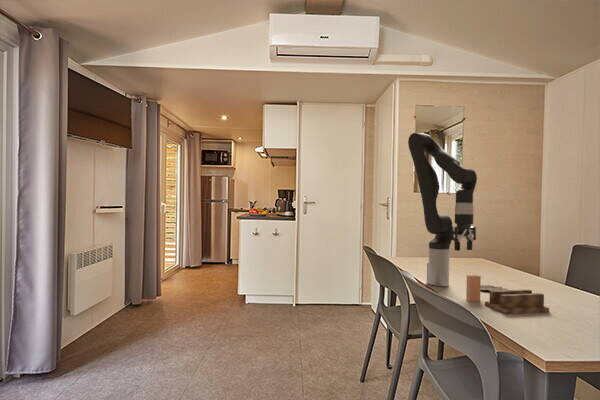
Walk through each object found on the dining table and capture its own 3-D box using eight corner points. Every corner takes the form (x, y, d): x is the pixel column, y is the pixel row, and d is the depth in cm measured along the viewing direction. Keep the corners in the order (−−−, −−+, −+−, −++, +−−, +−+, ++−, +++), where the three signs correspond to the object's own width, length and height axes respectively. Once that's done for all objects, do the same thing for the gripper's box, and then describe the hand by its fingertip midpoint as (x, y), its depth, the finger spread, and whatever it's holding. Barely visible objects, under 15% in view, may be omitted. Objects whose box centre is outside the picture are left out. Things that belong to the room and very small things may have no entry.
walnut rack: (505, 314, 132) (505, 297, 132) (484, 305, 143) (485, 289, 143) (549, 312, 135) (549, 295, 135) (525, 303, 146) (526, 288, 146)
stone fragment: (472, 289, 172) (472, 294, 163) (472, 283, 172) (472, 287, 163) (537, 295, 160) (540, 301, 152) (537, 289, 161) (540, 294, 152)
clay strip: (470, 301, 148) (470, 276, 147) (466, 299, 150) (466, 275, 150) (480, 301, 148) (480, 276, 148) (476, 299, 151) (476, 275, 151)
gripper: (466, 213, 170) (465, 249, 170) (446, 212, 163) (445, 249, 162) (481, 213, 164) (481, 250, 163) (461, 213, 157) (460, 251, 156)
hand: (463, 250), depth 163 cm, fingers open, 8 cm apart
